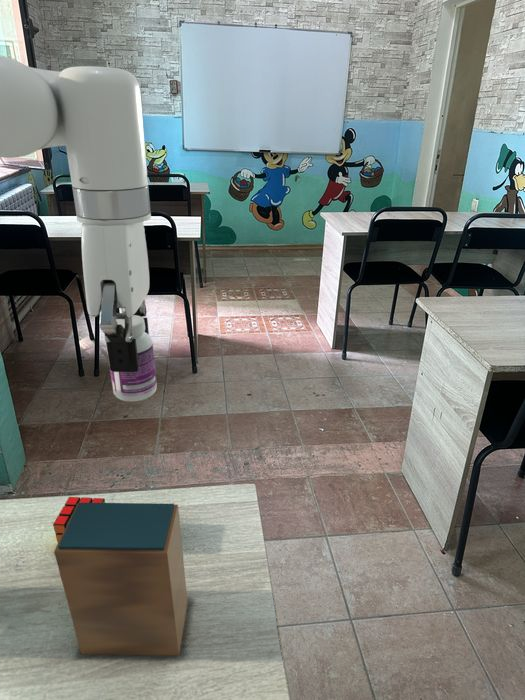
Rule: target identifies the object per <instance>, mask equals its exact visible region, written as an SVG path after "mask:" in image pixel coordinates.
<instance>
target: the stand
mask: <svg viewBox="0 0 525 700" xmlns="http://www.w3.org/2000/svg"><path fill="white" fill-rule="evenodd" d="M78 504H79V503H78ZM78 504H77V505H76V507H75V510H74V512H73V514H72V516H71V518H70V520H69V522H68V524H67V526H66V528H65V530H64V532H63V534H62V536H61V538H60V540H59V542H57V544H56V547H55V549H54V552H53V553H54V556H55V560H56V564H57V568H58V571H59V575H60V578H61V584H62V587H63V590H64V591H63V592H64V594H65V595H64V596H65V598H66V602H67V606H68V610H69V613H70V617H71V621H72V625H73V629H74V632H75V635H76V640H77V644H78V647H79V651H80V655H115V656H116V655H117V656H119V655H120V656H121V655H123V656H125V655H127V656H179V655H180V652H181V646H182V641H183V640H182V639H183V634H184V629H185V628H184V627H185V622H186V616H187V609H188V593H187V583H186V574H185V563H184V562H185V561H184V552H183V542H182V531H181V521H180V510H179V504H176V503H173V504H174V510H173V514H172V518H171V522H170V527H169V531H168V535H167V539H166V543H165V548H164V550H99V549H59V548H58V546H59V544H60V542H61V540H62V538H63V536H64V533H65V531H66V529H67V527H68V525H69V523H70V521H71V519H72V517H73V515H74V513H75V511H76V509H77V506H78Z"/></svg>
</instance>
